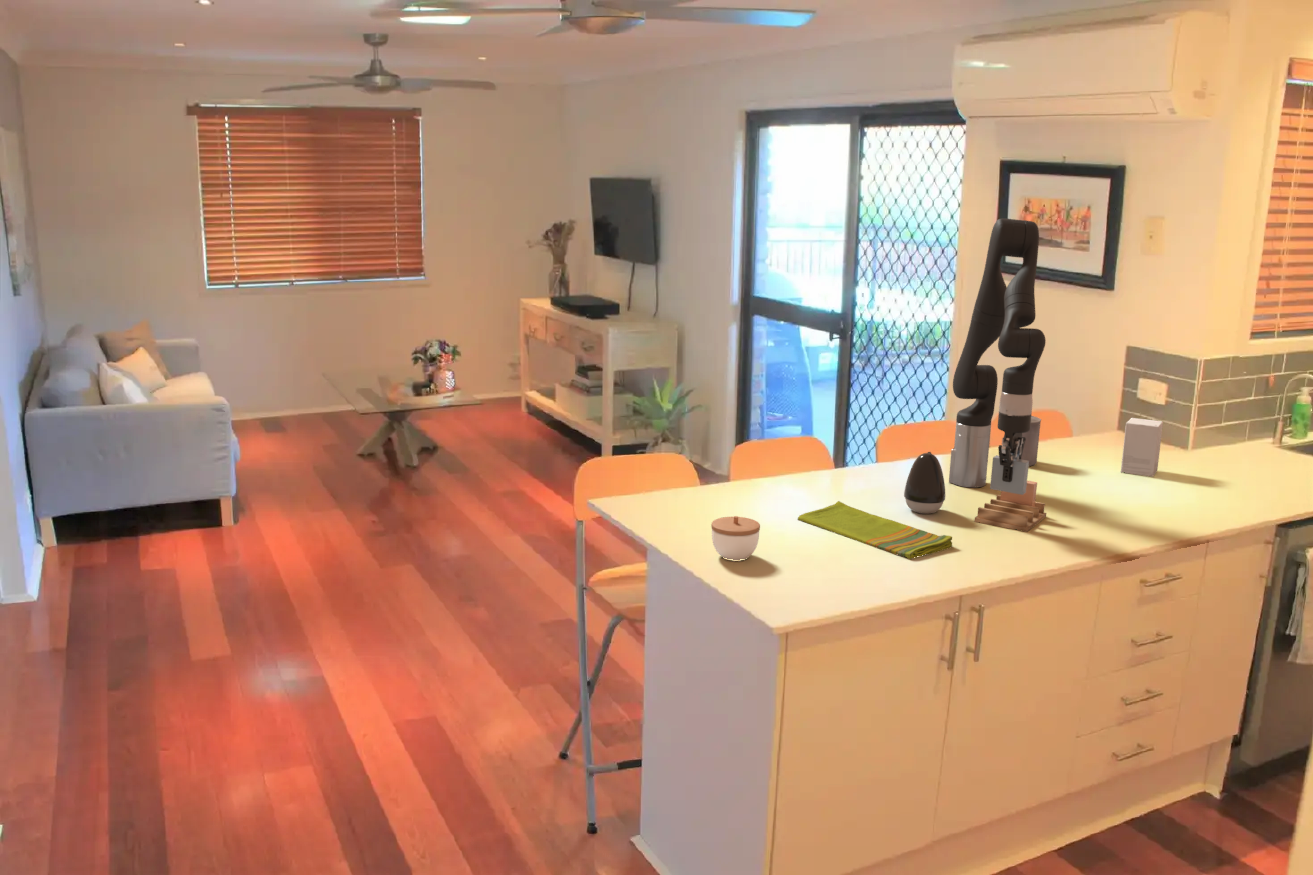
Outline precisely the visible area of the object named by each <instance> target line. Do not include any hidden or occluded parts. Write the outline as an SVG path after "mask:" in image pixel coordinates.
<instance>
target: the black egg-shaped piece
mask: <svg viewBox="0 0 1313 875" xmlns="http://www.w3.org/2000/svg"><path fill="white" fill-rule="evenodd" d="M903 496H904V499H905V502H906V505H907V507H908V509H910V510H911V511H912V512H915V513H918V514H923V515H927V514H928V515H930V514H934V513H936V512H938V511H939V510H940V509H941V508H942V506H943V504H944V501H946V484H945V478H944V473H943V469H942V466H941V463H940V461H939V459H938V458H937V456H935V455H934V454H933V453H932V452H931V451H927V452H923V453H921V454H919V455H918V456H917V458H916V459H915V460H914V462H913V464H912V465H911V468H910V470H909V473H908V476H907V478H906V483H905V487H904V491H903Z"/></svg>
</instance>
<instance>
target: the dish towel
mask: <svg viewBox="0 0 1313 875" xmlns="http://www.w3.org/2000/svg"><path fill="white" fill-rule="evenodd" d="M797 521H800V522H802V523H803V522H804V523H806V524H809V525H812V526H815V527H818V528H819V529H823V530H826V529H827V530H826V531H829V532H831V531H832V533H834V532H835V534H837V535H840V536H843V537H846V538H848V537H849V539H851V538H852V540H854V541H856V540H857V541H856V542H860V543H862V544H866V545H868V546H871V547H873V546H874V547H873V548H876V547H877V548H876V549H879V550H882V549H883V550H882V551H885V552H888V553H890V554H893V555H896V554H898V555H897V556H899V555H901V556H900V557H902V556H905V557H904V558H906V557H907V559H908V558H909V559H908V560H912V559H911V558H914V557H917V556H922V555H925V554H929V555H932V554H934V553H935V554H936V553H939V552H942V551H944V549H945V550H948V549H950V547H951V548H952V547H953V542H952V540H953V536H952V535H945V534H943V535H942V534H941V535H937V534H935V533H933V532H932V533H931V532H928V531H925V530H922V529H918V528H916V527H913V526H911V525H908V524H905V523H901V522H898V521H895V520H892V519H890V518H889V519H888V518H885V517H882V516H878V515H876V514H872V513H869V512H866V511H863V510H861V509H859V508H855V507H854V506H853V507H852V506H851V505H847V504H846V503H844V502H842V501H840V500H838V501H837V502H835V503H834V504H831V505H828V506H825V507H822V508H819V509H815V510H812V511H807V512H804V513H802V514H801V515H799V516H798V517H797ZM947 548H948V549H947ZM938 551H939V552H938ZM925 556H926V555H925ZM922 557H923V556H922ZM914 559H915V558H914Z"/></svg>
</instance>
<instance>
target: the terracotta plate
mask: <svg viewBox="0 0 1313 875" xmlns="http://www.w3.org/2000/svg"><path fill="white" fill-rule="evenodd" d="M1037 489H1038V482H1037V481H1032V480H1027V486H1026V493H1024V494H1023V495H1021V494H1015V493H1010V492H1005V491H1000V495H1001V497H1000V500H1001V501H1006V502H1011V503H1017V504H1022V505H1028V506H1033V507H1035V502H1036V499H1037Z"/></svg>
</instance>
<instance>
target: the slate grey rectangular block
mask: <svg viewBox="0 0 1313 875" xmlns="http://www.w3.org/2000/svg"><path fill="white" fill-rule="evenodd" d="M1006 461H1008V460H1007V459H1006ZM1029 467H1030V466H1029V461H1027V460H1021V459H1014V466H1013V474H1012V481H1011V482H1005V481H1003V480H1002V477H1003V466H1002V465H1000V459H999V454H998V455H995V456H993V457H992V465H991V476H990V483H989V489H990V490H995V491H1000V492H1001V491H1005V492H1010V493H1015V494H1021V495H1023V494H1024V493H1026V486H1027V481H1028V476H1029V475H1028V474H1029Z"/></svg>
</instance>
